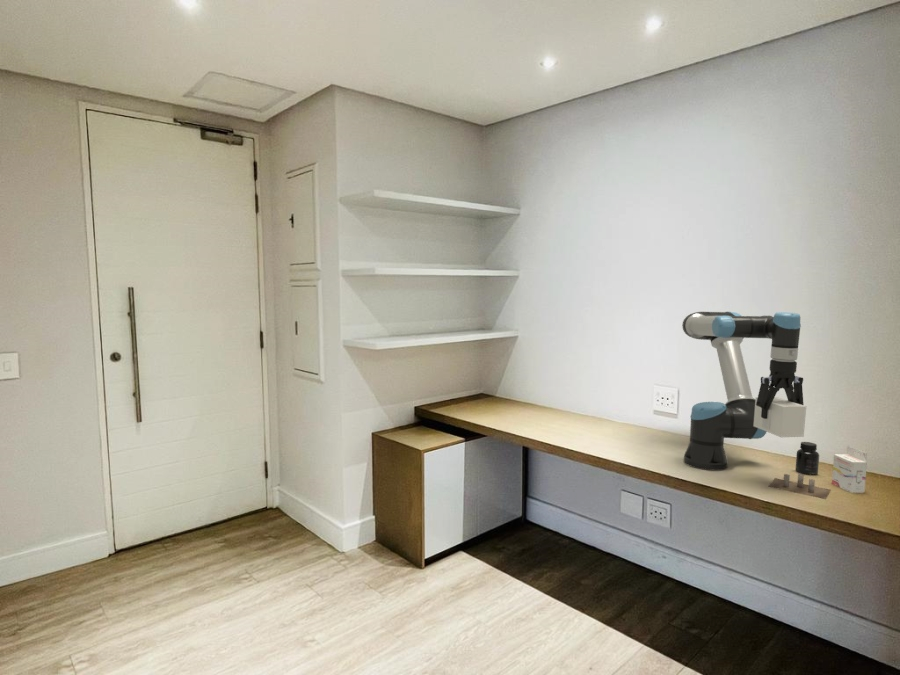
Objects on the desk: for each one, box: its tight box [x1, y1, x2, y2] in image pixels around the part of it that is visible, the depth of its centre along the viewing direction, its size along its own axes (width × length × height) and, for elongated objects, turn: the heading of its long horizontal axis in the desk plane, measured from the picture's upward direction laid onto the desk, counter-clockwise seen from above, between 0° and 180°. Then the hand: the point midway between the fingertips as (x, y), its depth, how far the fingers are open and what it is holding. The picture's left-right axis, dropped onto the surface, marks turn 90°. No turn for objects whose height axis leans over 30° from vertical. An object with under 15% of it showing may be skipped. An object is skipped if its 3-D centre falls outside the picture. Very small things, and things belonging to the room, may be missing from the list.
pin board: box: [767, 473, 831, 500], centre depth 181 cm, size 16×11×6 cm
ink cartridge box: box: [831, 445, 868, 494], centre depth 181 cm, size 9×5×15 cm, turn 5°
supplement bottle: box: [795, 441, 820, 476], centre depth 196 cm, size 7×7×12 cm
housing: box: [753, 396, 807, 438], centre depth 182 cm, size 13×8×10 cm, turn 8°
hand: (777, 427), depth 183 cm, fingers closed on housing, 8 cm apart
